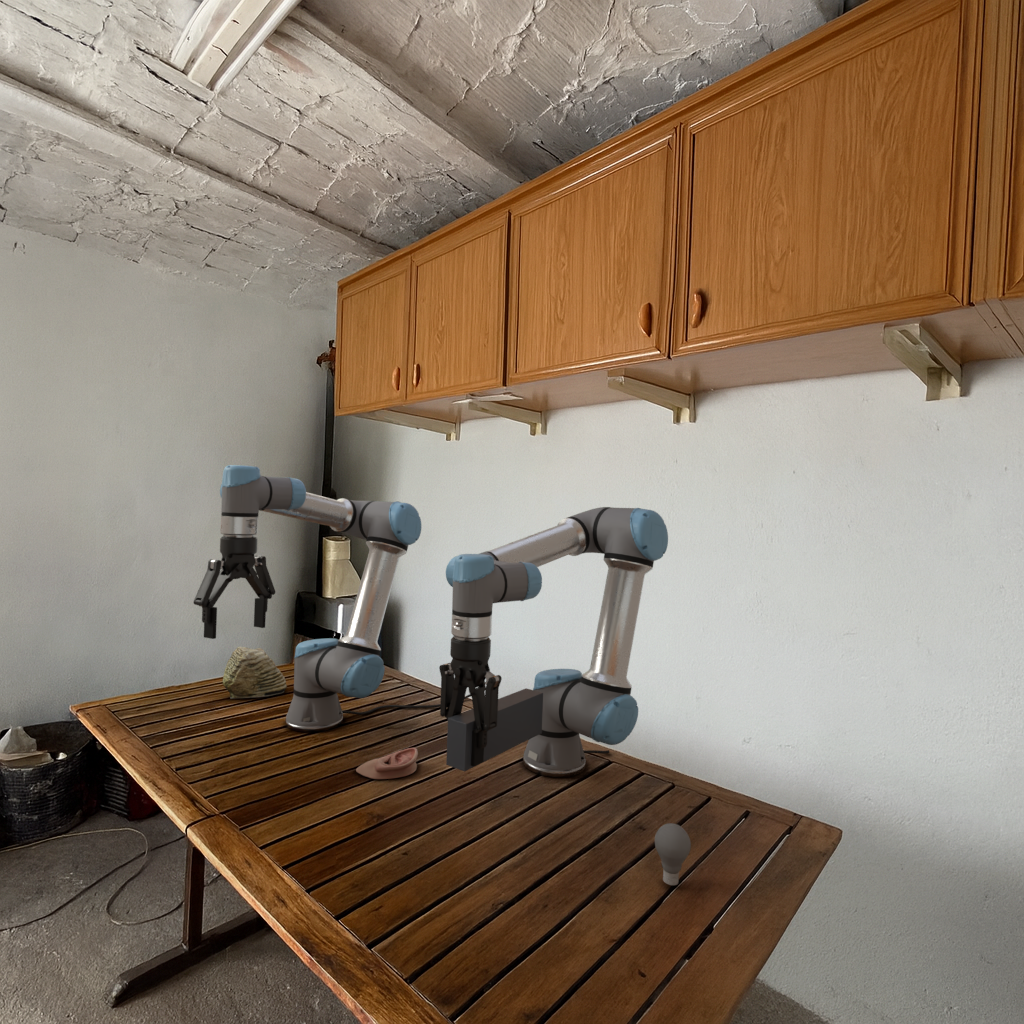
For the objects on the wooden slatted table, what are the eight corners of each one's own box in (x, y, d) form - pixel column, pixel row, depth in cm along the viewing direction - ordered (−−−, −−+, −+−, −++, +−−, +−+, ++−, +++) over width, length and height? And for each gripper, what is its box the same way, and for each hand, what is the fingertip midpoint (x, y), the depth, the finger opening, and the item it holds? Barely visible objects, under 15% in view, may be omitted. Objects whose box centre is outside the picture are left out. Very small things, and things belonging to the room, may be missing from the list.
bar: (524, 728, 139) (525, 688, 138) (541, 733, 136) (543, 692, 136) (446, 764, 118) (447, 718, 118) (464, 771, 116) (466, 724, 115)
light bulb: (648, 873, 111) (650, 816, 111) (681, 872, 111) (684, 816, 111) (659, 894, 105) (661, 834, 105) (694, 894, 105) (697, 834, 105)
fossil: (218, 695, 195) (220, 647, 195) (278, 685, 208) (279, 640, 207) (228, 703, 189) (230, 653, 188) (289, 692, 201) (290, 645, 201)
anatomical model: (350, 758, 144) (371, 740, 155) (349, 775, 144) (371, 756, 155) (405, 766, 141) (423, 746, 152) (405, 783, 141) (422, 763, 152)
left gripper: (203, 539, 126) (199, 645, 126) (293, 535, 149) (289, 624, 149) (176, 536, 129) (173, 640, 129) (269, 533, 152) (265, 621, 152)
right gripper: (423, 632, 121) (418, 753, 122) (495, 648, 111) (490, 780, 111) (449, 626, 127) (445, 741, 128) (520, 641, 117) (515, 766, 117)
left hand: (235, 632), depth 139 cm, fingers open, 13 cm apart
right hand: (466, 759), depth 119 cm, fingers closed on bar, 5 cm apart
